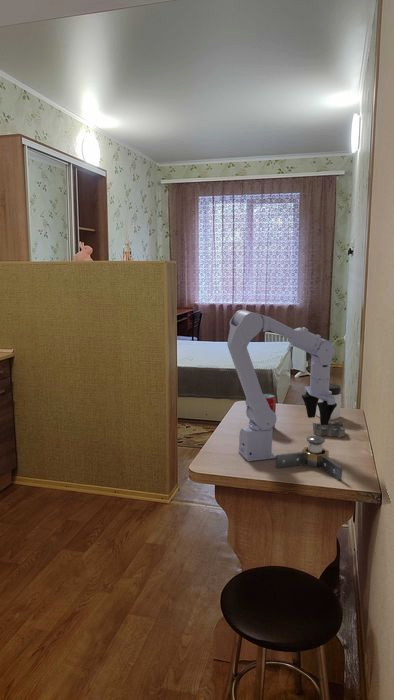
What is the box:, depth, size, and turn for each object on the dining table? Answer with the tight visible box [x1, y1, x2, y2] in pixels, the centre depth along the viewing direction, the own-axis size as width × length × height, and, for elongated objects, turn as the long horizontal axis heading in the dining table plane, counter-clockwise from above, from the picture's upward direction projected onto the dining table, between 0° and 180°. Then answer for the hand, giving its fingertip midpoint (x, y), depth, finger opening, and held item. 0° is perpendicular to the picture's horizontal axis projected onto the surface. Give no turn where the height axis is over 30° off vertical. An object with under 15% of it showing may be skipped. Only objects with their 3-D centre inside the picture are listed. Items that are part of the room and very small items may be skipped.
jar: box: [315, 382, 342, 421], centre depth 189 cm, size 9×8×12 cm
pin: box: [306, 435, 326, 455], centre depth 146 cm, size 5×5×7 cm
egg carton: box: [312, 419, 346, 438], centre depth 171 cm, size 11×8×4 cm
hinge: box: [275, 446, 343, 481], centre depth 140 cm, size 16×16×4 cm
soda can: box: [263, 393, 277, 430], centre depth 175 cm, size 6×6×12 cm
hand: (317, 421), depth 154 cm, fingers open, 7 cm apart
